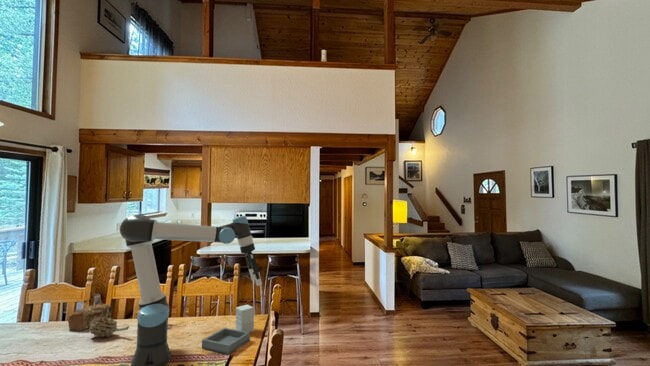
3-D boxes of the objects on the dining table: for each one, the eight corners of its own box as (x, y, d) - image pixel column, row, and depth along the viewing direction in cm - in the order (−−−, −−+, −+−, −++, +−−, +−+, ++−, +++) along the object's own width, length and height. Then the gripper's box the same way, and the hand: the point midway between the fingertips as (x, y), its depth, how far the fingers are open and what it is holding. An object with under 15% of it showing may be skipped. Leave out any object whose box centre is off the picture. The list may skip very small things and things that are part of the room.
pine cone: (82, 340, 157) (83, 320, 158) (96, 332, 167) (97, 313, 168) (124, 340, 157) (125, 320, 158) (136, 333, 166) (137, 314, 167)
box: (201, 348, 149) (202, 339, 149) (224, 335, 163) (224, 327, 164) (228, 354, 143) (228, 345, 143) (249, 340, 157) (249, 332, 158)
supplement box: (247, 327, 175) (247, 304, 176) (253, 331, 169) (254, 307, 170) (235, 330, 170) (235, 306, 171) (241, 334, 164) (241, 310, 165)
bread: (82, 331, 169) (83, 312, 170) (66, 329, 171) (67, 311, 172) (112, 318, 187) (112, 302, 188) (97, 317, 189) (98, 300, 190)
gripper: (258, 244, 158) (269, 284, 158) (249, 240, 180) (258, 275, 181) (243, 249, 155) (254, 290, 155) (236, 244, 177) (245, 280, 178)
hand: (256, 282), depth 168 cm, fingers open, 13 cm apart
